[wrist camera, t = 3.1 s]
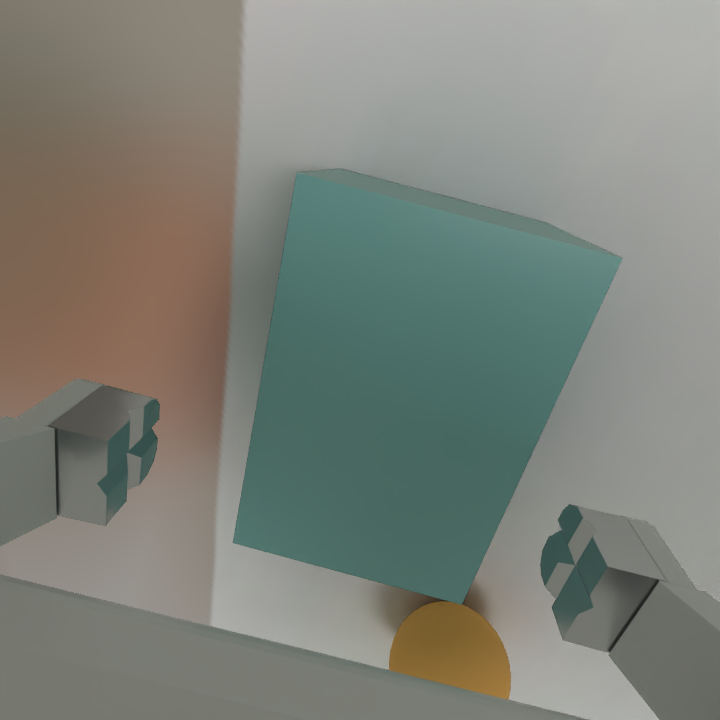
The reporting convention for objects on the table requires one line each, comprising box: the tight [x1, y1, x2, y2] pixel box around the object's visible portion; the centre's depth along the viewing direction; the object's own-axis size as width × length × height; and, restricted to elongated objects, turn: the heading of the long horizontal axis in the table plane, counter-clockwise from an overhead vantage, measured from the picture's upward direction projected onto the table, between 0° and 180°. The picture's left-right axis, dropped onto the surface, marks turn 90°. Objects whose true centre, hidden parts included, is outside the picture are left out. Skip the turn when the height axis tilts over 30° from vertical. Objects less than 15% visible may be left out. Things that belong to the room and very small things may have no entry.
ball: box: [389, 601, 511, 700], centre depth 20 cm, size 5×5×5 cm
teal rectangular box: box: [233, 169, 622, 605], centre depth 14 cm, size 10×7×6 cm, turn 167°
